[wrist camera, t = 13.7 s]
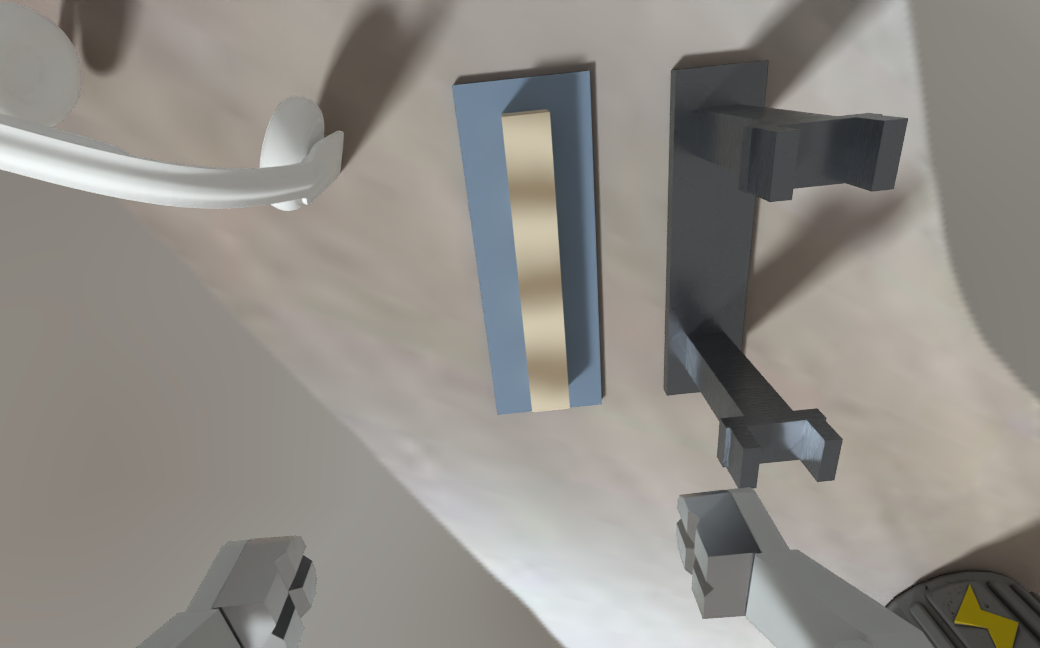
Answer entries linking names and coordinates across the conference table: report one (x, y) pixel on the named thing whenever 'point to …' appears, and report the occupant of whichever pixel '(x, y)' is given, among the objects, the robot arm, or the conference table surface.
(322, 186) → the headset
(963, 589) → the decorative lamp
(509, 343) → the mat
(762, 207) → the conference table surface
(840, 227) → the conference table surface
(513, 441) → the conference table surface
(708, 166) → the hook rack
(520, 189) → the rail
